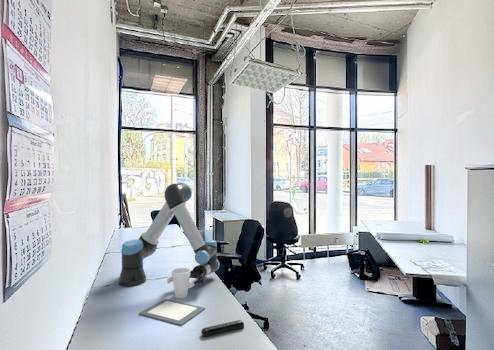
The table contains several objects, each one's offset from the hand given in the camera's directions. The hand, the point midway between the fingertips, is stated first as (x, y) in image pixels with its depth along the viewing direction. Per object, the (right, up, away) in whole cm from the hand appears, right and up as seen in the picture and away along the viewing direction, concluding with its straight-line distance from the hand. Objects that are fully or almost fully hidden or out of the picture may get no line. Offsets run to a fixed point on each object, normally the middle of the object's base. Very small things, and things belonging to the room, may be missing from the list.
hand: (178, 283), depth 163 cm
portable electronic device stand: (+26, -9, -34) cm, 43 cm away
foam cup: (+1, -8, +3) cm, 8 cm away
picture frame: (+1, -8, -16) cm, 18 cm away
